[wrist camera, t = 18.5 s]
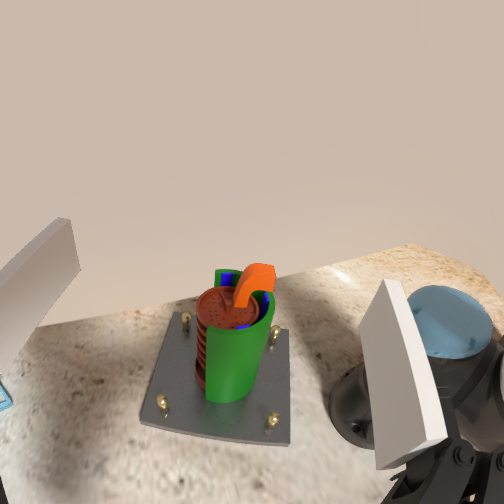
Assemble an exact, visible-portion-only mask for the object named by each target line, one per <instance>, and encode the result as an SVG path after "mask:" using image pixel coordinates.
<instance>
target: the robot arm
mask: <svg viewBox="0 0 504 504" xmlns="http://www.w3.org/2000/svg"><path fill="white" fill-rule="evenodd" d="M80 271H81V269H80V264H79V260H78V256H77V251H76V247H75V241H74V236H73V231H72V226H71V221H70V220H69V219H64V218H59V217H58V218H57V219H56V220H54V221H53V222H52V223H51V224H50V225H49V226H47V227H46V228H45V229H44V230H43V231H42V232H41V233H39V234H38V235H37V236H36V237H35V238H34V239H33V240H32V241H31V242H29V243H28V244H27V245H26V246H25V247H24V248H23V249H22V250H21V251H20V252H19V253H18V254H17V255H16V256H15V257H14V258H13V259H12V260H10V261H9V262H8V264H7V265H5V267H4V268H3V269H2V270H1V271H0V374H2V375H3V376H5V375H6V373H7V371H8V370H9V368H10V367H11V365H12V363H13V362H14V360H15V359H16V357H17V355H18V354H19V352H20V351H21V349H22V348H23V346H24V345H25V343H26V342H27V340H28V339H29V337H30V336H31V335H32V333H33V332H34V330H35V329H36V327H37V326H38V325H39V323H40V322H41V320H42V319H43V318H44V316H45V315H46V314H47V312H48V311H49V309H50V308H51V307H52V306H53V304H54V303H55V302H56V300H57V299H58V298H59V297H60V295H61V294H62V293H63V291H64V290H65V289H66V288H67V286H68V285H69V284H70V283H71V281H72V280H73V279H74V277H76V275H77V274H78V273H79V272H80ZM358 327H359V333H360V338H361V344H362V349H363V355H364V362H362V363H361V364H359V365H357V366H355V367H354V368H352V369H350V370H349V371H347V372H346V373H345V374H344V375H343V376H342V377H341V378H340V379H339V381H338V382H337V383H336V385H335V386H334V388H333V390H332V392H331V395H330V399H329V412H330V416H331V419H332V422H333V424H334V426H335V428H336V429H337V430H338V432H339V433H340V434H341V435H342V436H343V437H344V438H345V439H346V440H347V441H349V442H350V443H352V444H354V445H356V446H358V447H361V448H365V449H372V450H375V457H376V470H386V469H394V468H397V467H399V466H401V465H403V464H405V463H406V470H404V471H402V472H400V473H398V474H396V475H394V476H393V477H392V478H391V479H390V480H391V481H393V480H395V479H397V478H398V480H397V481H396V482H395V484H394V486H393V487H392V489H391V490H390V492H389V493H388V494H387V496H386V497H385V498H384V500H383V501H382V502H381V504H504V347H502V346H501V345H500V344H499V343H498V342H497V341H495V340H494V339H493V338H492V333H493V325H492V321H491V318H490V316H489V315H488V313H486V312H484V311H483V307H482V306H481V305H480V304H479V303H478V302H477V301H476V300H474V299H473V298H472V297H470V296H468V295H467V294H465V293H463V292H461V291H459V290H457V289H454V288H450V287H446V286H436V285H431V286H425V287H422V288H420V289H418V290H416V291H415V292H413V293H412V294H411V295H410V296H409V298H408V299H406V296H405V294H404V291H403V289H402V286H401V284H400V282H398V281H393V280H388V279H383V281H382V283H381V285H380V287H379V289H378V291H377V293H376V295H375V297H374V298H373V300H372V302H371V304H370V306H369V308H368V310H367V312H366V313H365V315H364V317H363V319H362V321H361V322H360V324H359V326H358ZM475 493H476V494H475ZM473 494H475V498H474V501H472V502H470V496H471V495H473ZM0 504H8V500H7V497H6V494H5V491H4V487H3V484H2V480H1V477H0Z"/></svg>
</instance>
